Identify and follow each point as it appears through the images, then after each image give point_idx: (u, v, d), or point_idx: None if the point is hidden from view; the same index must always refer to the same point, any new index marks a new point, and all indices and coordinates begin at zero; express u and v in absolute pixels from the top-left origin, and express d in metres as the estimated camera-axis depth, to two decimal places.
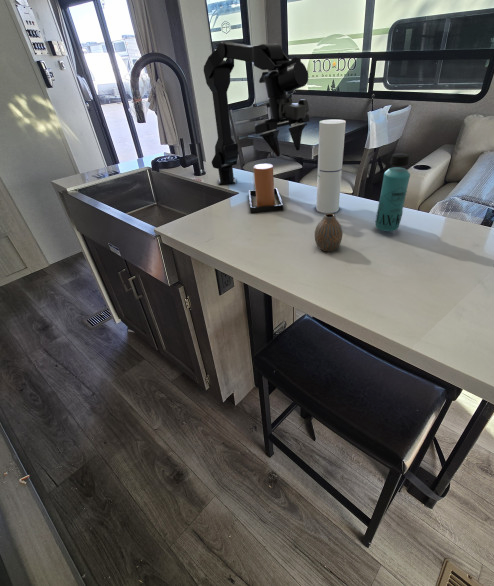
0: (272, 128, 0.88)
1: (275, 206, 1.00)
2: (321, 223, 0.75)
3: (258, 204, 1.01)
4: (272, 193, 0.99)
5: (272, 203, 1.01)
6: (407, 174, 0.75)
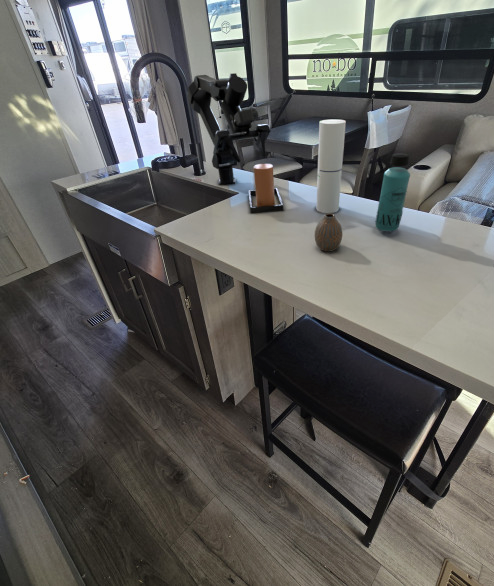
0: (223, 135, 0.96)
1: (275, 206, 1.00)
2: (321, 223, 0.75)
3: (258, 204, 1.01)
4: (272, 193, 0.99)
5: (272, 203, 1.01)
6: (407, 174, 0.75)
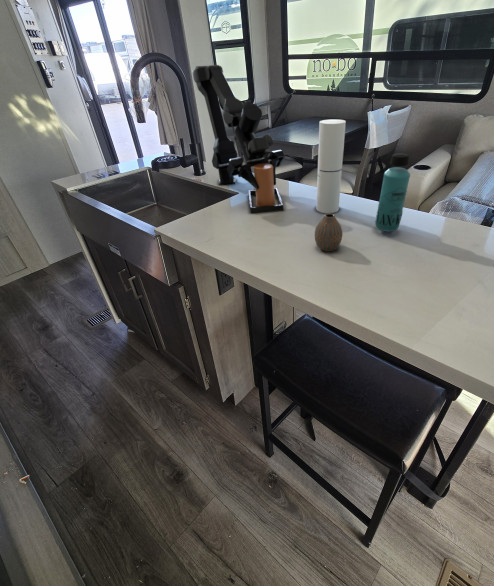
0: (237, 163, 0.93)
1: (275, 206, 1.00)
2: (321, 223, 0.75)
3: (258, 204, 1.01)
4: (272, 193, 0.99)
5: (272, 203, 1.01)
6: (407, 174, 0.75)
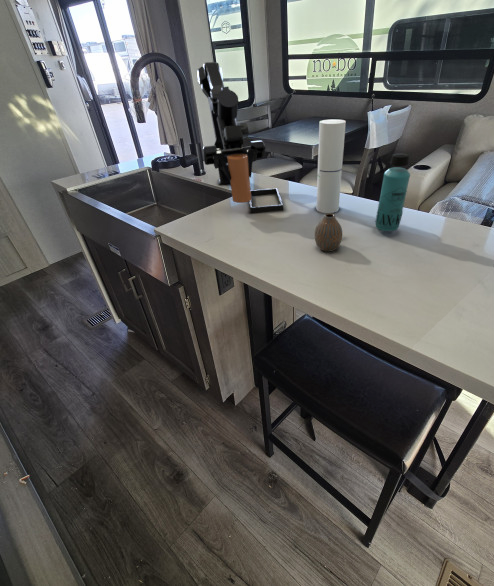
0: (209, 151, 0.90)
1: (275, 206, 1.00)
2: (321, 223, 0.75)
3: (232, 196, 0.98)
4: (246, 185, 0.95)
5: (246, 196, 0.97)
6: (407, 174, 0.75)
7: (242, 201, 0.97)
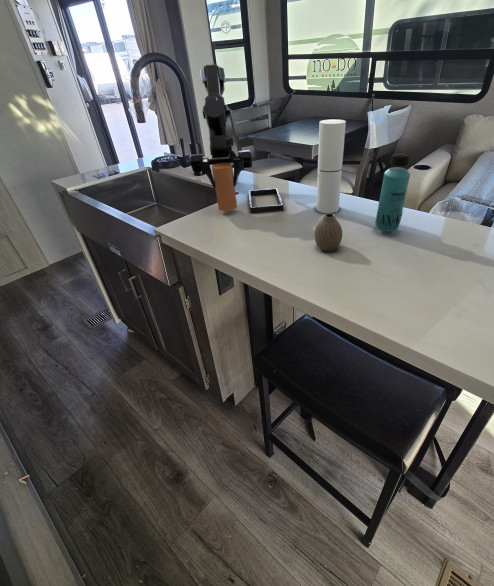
0: (194, 160, 0.92)
1: (275, 206, 1.00)
2: (321, 223, 0.75)
3: None
4: (229, 194, 0.95)
5: (230, 205, 0.97)
6: (407, 174, 0.75)
7: (226, 209, 0.98)
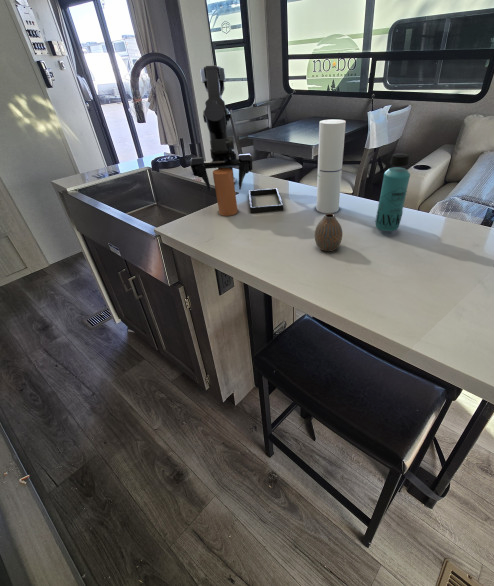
0: (195, 163, 0.93)
1: (275, 206, 1.00)
2: (321, 223, 0.75)
3: None
4: (230, 199, 0.96)
5: (231, 209, 0.98)
6: (407, 174, 0.75)
7: (227, 214, 0.99)
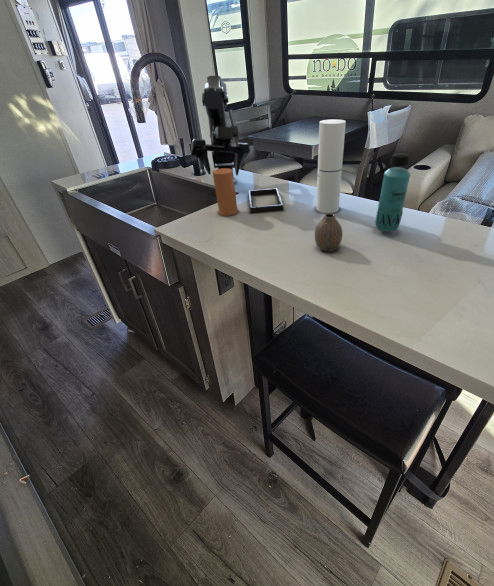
0: (198, 145, 0.97)
1: (275, 206, 1.00)
2: (321, 223, 0.75)
3: None
4: (230, 199, 0.96)
5: (231, 209, 0.98)
6: (407, 174, 0.75)
7: (227, 214, 0.99)
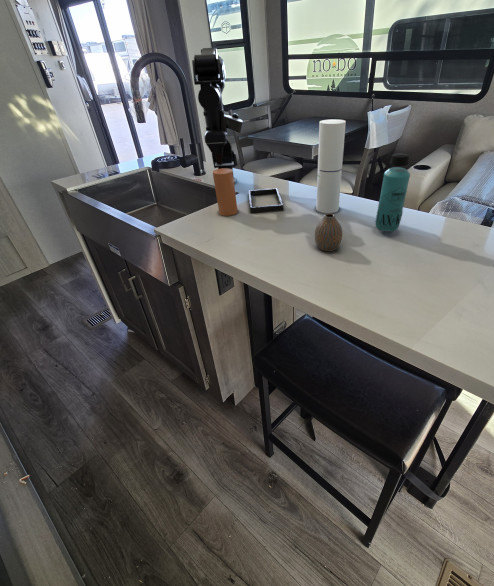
0: (226, 139, 0.92)
1: (275, 206, 1.00)
2: (321, 223, 0.75)
3: None
4: (230, 199, 0.96)
5: (231, 209, 0.98)
6: (407, 174, 0.75)
7: (227, 214, 0.99)
